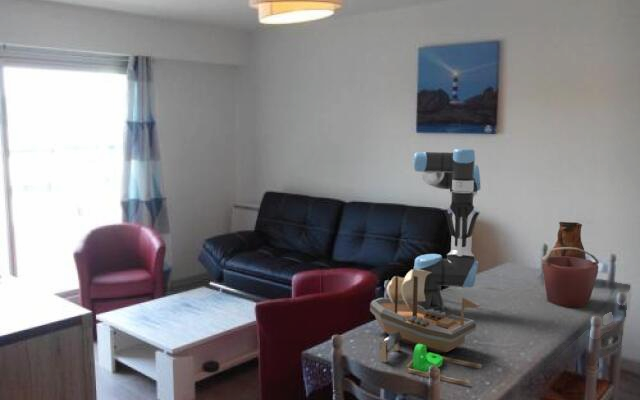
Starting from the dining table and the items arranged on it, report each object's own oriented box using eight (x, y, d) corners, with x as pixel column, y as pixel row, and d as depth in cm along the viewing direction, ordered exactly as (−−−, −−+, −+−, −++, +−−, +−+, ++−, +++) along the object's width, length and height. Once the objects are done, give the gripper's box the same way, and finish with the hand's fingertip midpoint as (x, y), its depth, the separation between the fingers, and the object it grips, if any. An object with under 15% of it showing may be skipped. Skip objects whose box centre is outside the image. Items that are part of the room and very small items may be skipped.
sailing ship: (386, 322, 233) (388, 257, 229) (489, 354, 202) (493, 279, 199) (361, 333, 221) (362, 264, 218) (466, 368, 191) (469, 289, 187)
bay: (404, 371, 188) (404, 367, 188) (420, 355, 201) (420, 351, 201) (468, 386, 178) (469, 381, 178) (481, 367, 191) (481, 363, 191)
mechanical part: (429, 374, 186) (430, 350, 184) (412, 369, 189) (413, 346, 188) (445, 362, 195) (446, 339, 194) (429, 357, 199) (430, 335, 197)
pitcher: (589, 280, 295) (593, 223, 291) (573, 288, 280) (577, 228, 276) (557, 274, 307) (561, 218, 303) (539, 282, 292) (543, 224, 288)
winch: (378, 361, 196) (378, 341, 195) (392, 348, 207) (392, 329, 206) (388, 363, 194) (389, 343, 193) (402, 350, 205) (402, 331, 204)
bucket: (538, 306, 255) (541, 250, 251) (536, 292, 275) (539, 240, 272) (599, 312, 247) (603, 255, 243) (593, 297, 267) (596, 244, 264)
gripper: (441, 191, 207) (439, 255, 211) (478, 193, 201) (475, 259, 204) (447, 189, 214) (445, 251, 217) (483, 191, 208) (480, 255, 211)
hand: (460, 255), depth 211 cm, fingers closed
